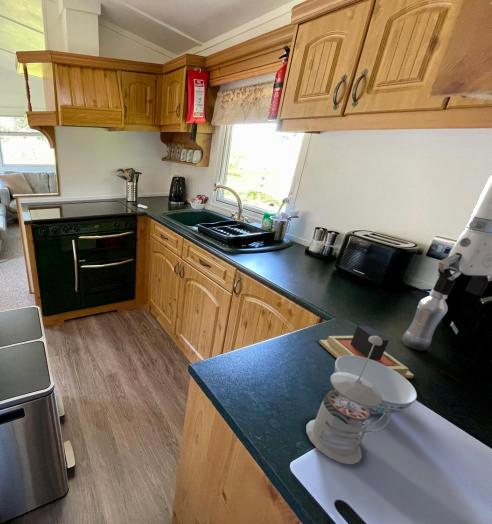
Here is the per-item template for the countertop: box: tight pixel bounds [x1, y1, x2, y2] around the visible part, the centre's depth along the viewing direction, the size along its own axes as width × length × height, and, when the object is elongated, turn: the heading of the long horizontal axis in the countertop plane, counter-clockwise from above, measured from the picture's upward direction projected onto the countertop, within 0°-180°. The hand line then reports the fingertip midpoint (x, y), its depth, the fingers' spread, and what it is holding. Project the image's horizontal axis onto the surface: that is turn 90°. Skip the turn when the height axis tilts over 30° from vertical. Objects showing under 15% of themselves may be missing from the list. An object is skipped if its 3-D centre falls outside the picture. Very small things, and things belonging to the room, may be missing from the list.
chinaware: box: [334, 355, 418, 415], centre depth 67 cm, size 15×15×8 cm
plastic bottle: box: [401, 287, 449, 352], centre depth 89 cm, size 6×7×20 cm
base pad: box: [318, 335, 415, 379], centre depth 84 cm, size 16×16×3 cm
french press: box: [305, 336, 392, 465], centre depth 54 cm, size 10×12×25 cm
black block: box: [338, 325, 394, 366], centre depth 83 cm, size 8×11×8 cm
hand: (456, 293), depth 73 cm, fingers open, 9 cm apart
